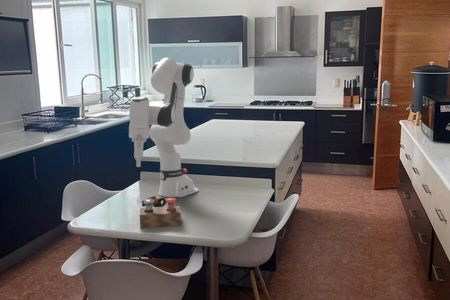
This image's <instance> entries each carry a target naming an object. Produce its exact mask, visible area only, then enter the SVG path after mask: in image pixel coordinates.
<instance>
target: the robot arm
mask: <svg viewBox="0 0 450 300" xmlns="http://www.w3.org/2000/svg"><path fill="white" fill-rule="evenodd" d="M194 78H195V73H194V68H193V66H192V64H188V63H182V62H178V61H177V62H176V61H175V60H174V59H172V58H170V57H164V58H161V60H160V61H157V62H155V63H154V64H153V66H152V69H151V77H150V84H151V87H152V88H153V89H154V90H155V91H156V92H158V93H159V94H161V95H163V103H161V104H160V103H158V104H157V103H150V100H149V98H148V97H146V96H140V95H139V96H135V97H132V98H131V100H130V104H129V112H128V113H129V115H128V116H129V125H128V138H130V139H131V142H133V147H134V150H133V151H134V152H133V153H134V154H133V158H134V159H135V161H136V162H135V165H136V168H140V167H141V165H142V164H141V163H142V159H143V157H144V144H145V143H146V142H147V139H151V140H152V141H153V143H154V144H155V145H156V148H157V150H158V153H159V162H160V164H159V165H160V168H159V178H160V183H159V189H158V190H159V191H158V194H157V195H158V196H161V197H163V198H184V197H186V196H188V195H192V194H195V193H198V192H199V189H198V188H197V187H195V184H194V181H193V179H191V178H190V177H188V176H187V175H186V174H184V173H187V172H188V169H187V168H183V167H181V166H182V164H181V163H182V162H181V153H180V152H179V151H178V150H177V149H176V147H175V146H182V145H186V144H188V143H189V142H190V140H191V137H192V133H191V130H190V128H189V126H187V124H186V122H185V119H184V106H185V98H186V87H187V86H189V85H190V84H191V83H192V82H193V79H194Z"/></svg>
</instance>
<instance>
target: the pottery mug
mask: <svg viewBox="0 0 450 300" xmlns="http://www.w3.org/2000/svg"><path fill="white" fill-rule="evenodd" d="M146 199H154V203H153V204H152V207H165V206H166V205H167V203H166V197H159V198H157V196H156V195H154V196H150V197H148V198H146ZM144 200H145V199H143V200H141V208H145V207H146V205H145V204H144Z"/></svg>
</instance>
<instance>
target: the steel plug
mask: <svg viewBox="0 0 450 300" xmlns="http://www.w3.org/2000/svg"><path fill="white" fill-rule="evenodd" d="M143 200H144V204H145V205H146V206H145V208H146V212H153V211H152V205H153V203H154V199H147V198H145V199H143Z"/></svg>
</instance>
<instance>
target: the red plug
mask: <svg viewBox="0 0 450 300" xmlns="http://www.w3.org/2000/svg"><path fill="white" fill-rule="evenodd" d="M165 200H166V204H167V207H168V211H175V206H176V205H175V203H177V197H166V198H165Z"/></svg>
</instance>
